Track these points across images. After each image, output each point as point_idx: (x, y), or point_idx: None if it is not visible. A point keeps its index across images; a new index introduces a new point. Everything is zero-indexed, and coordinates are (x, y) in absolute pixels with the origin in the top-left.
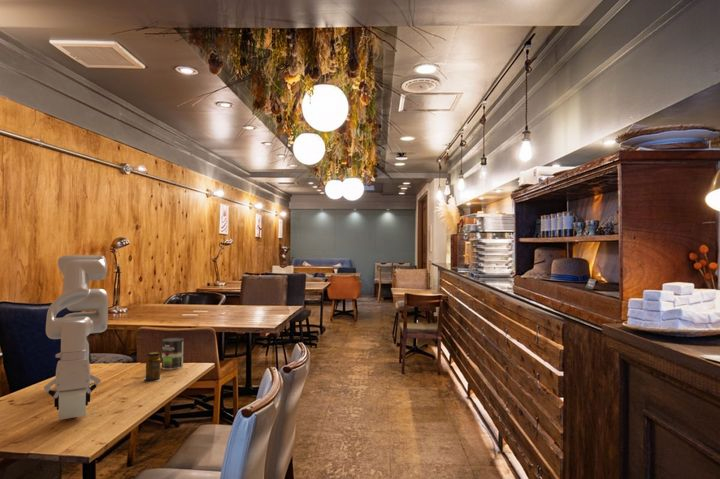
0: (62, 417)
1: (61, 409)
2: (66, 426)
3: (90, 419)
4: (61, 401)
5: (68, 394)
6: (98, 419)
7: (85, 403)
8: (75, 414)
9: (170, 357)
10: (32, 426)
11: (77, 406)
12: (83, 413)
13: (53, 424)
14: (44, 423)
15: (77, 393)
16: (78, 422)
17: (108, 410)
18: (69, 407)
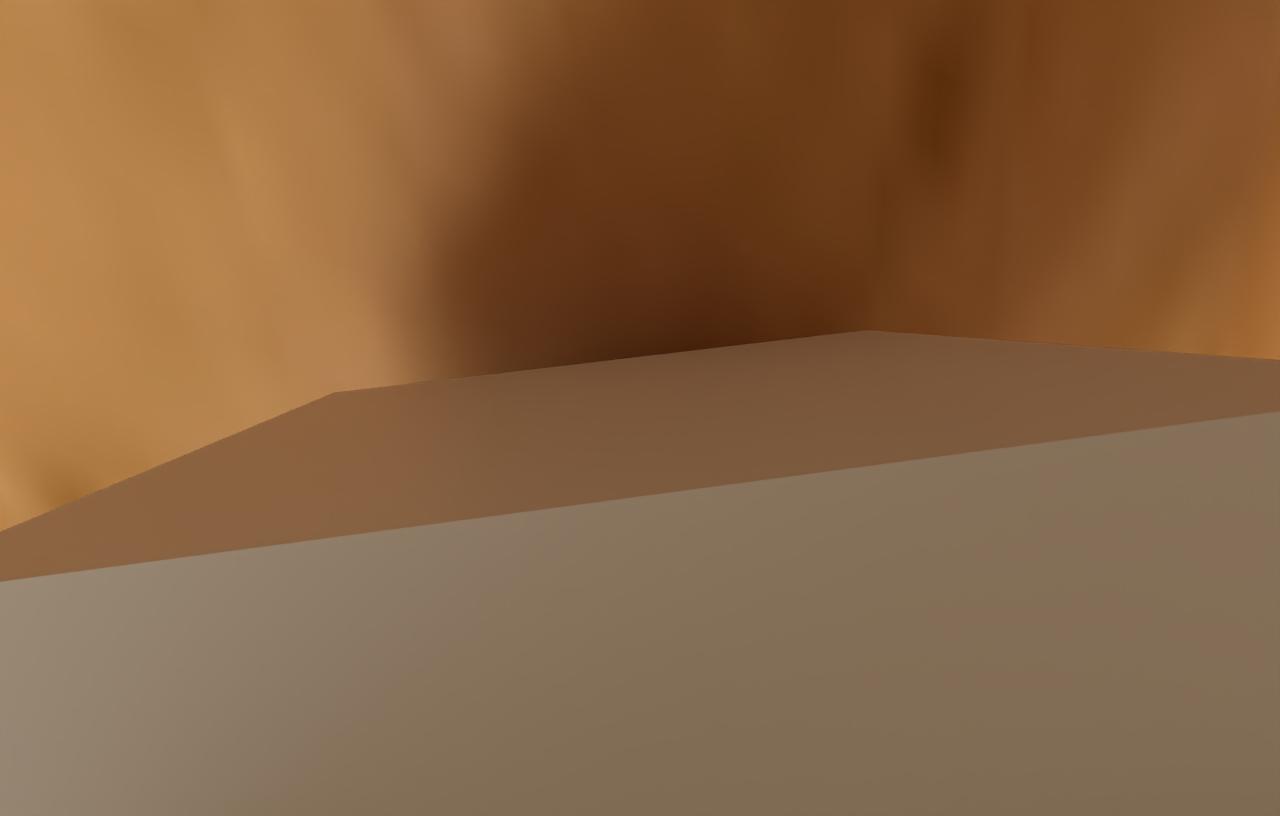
0: (811, 342)
1: (942, 350)
2: (682, 46)
3: (229, 315)
4: (1176, 373)
5: (1021, 731)
6: (17, 237)
7: (193, 454)
8: (543, 375)
9: None
10: (1220, 351)
11: (484, 408)
12: (359, 392)
13: (918, 309)
14: None
15: (474, 790)
16: (459, 219)
17: None
18: (729, 381)
